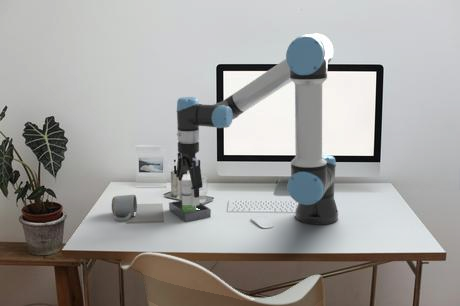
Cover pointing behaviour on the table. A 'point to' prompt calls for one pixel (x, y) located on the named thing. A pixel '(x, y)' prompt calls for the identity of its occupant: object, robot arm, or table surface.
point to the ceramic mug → (124, 206)
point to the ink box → (187, 194)
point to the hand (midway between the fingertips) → (189, 201)
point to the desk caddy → (189, 216)
